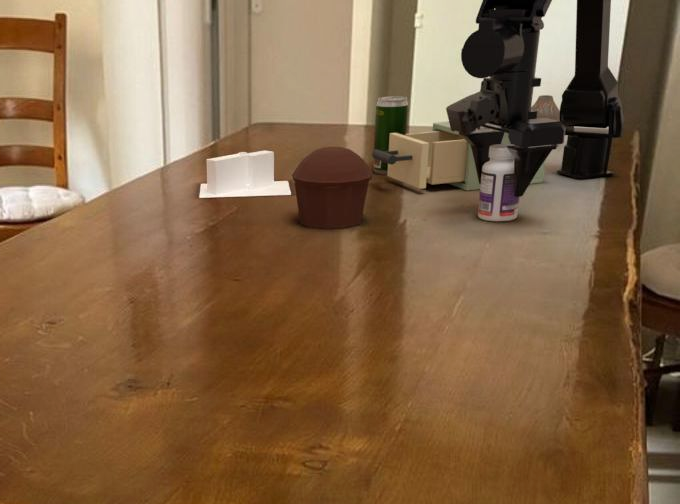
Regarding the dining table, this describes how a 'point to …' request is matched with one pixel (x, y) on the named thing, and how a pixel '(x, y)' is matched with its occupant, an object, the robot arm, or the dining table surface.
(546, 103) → the vase
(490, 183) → the pill bottle
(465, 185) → the cabinet
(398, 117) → the beer can
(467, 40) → the robot arm
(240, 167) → the napkin holder
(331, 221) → the muffin
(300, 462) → the dining table surface
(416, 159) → the drawer
